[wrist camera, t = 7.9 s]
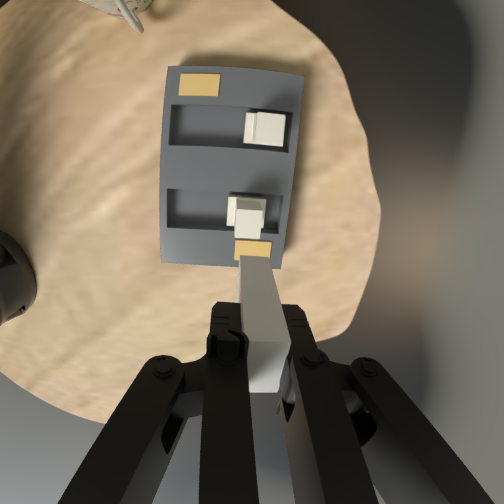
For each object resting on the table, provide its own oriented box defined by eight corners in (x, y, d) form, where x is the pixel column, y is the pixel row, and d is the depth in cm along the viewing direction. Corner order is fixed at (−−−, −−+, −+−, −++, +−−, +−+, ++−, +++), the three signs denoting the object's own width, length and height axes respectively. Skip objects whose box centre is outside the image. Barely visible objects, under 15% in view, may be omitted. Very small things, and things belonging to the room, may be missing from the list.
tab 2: (226, 221, 31) (226, 239, 26) (228, 193, 30) (228, 206, 25) (261, 223, 32) (267, 241, 27) (264, 196, 31) (271, 209, 26)
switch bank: (166, 252, 34) (160, 263, 31) (173, 72, 25) (167, 65, 22) (276, 258, 35) (280, 269, 33) (297, 80, 27) (304, 75, 24)
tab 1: (243, 142, 28) (245, 143, 23) (245, 113, 27) (248, 108, 22) (280, 146, 28) (290, 148, 23) (283, 117, 27) (294, 114, 22)
